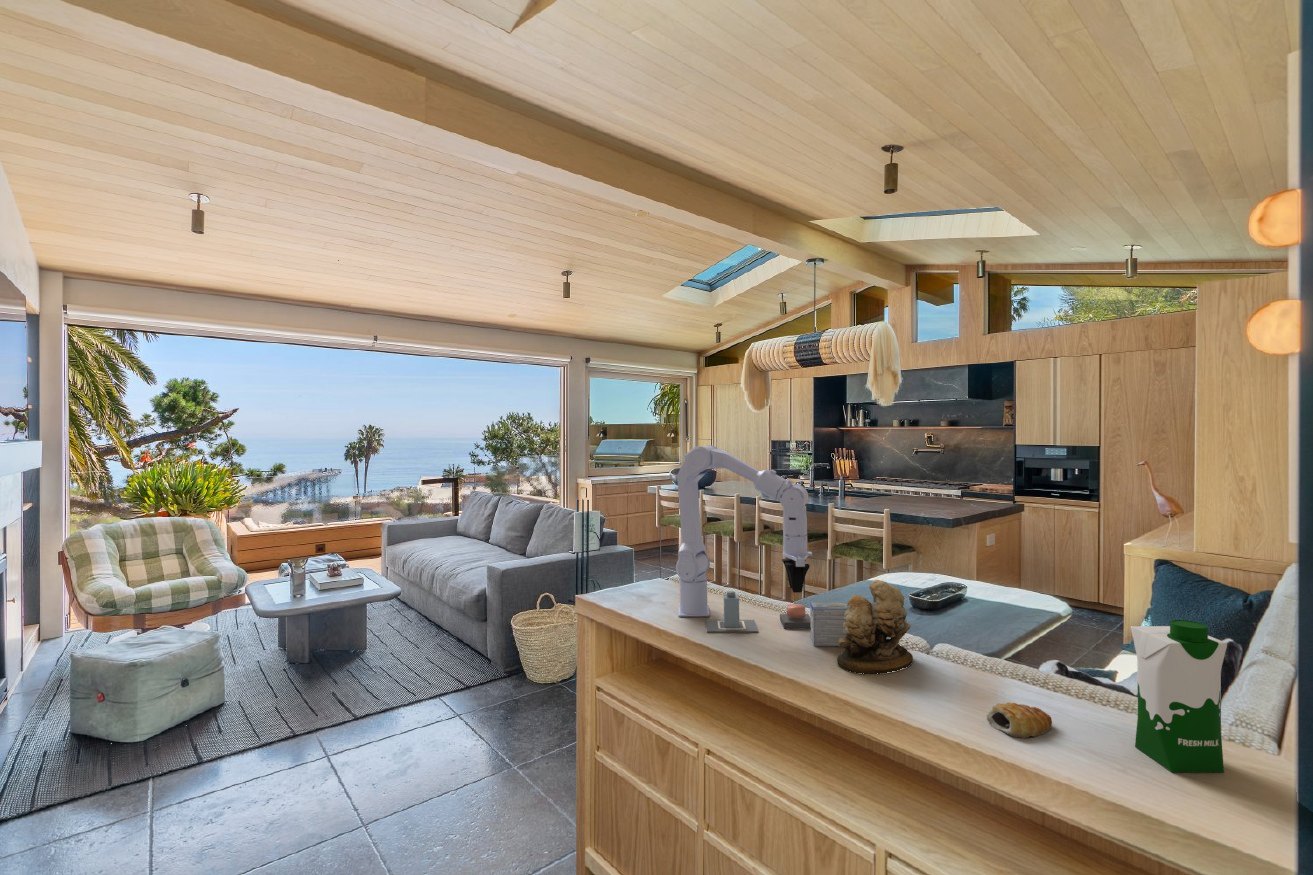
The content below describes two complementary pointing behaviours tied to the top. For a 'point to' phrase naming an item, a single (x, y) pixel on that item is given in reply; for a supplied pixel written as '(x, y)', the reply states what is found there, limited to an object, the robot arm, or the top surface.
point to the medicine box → (827, 623)
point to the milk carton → (1179, 696)
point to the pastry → (1019, 720)
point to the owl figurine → (875, 632)
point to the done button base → (795, 621)
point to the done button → (796, 610)
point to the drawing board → (719, 627)
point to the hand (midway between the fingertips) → (795, 590)
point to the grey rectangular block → (731, 610)
